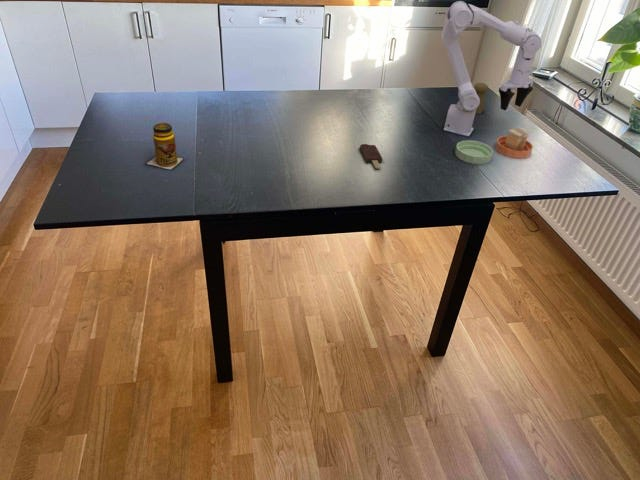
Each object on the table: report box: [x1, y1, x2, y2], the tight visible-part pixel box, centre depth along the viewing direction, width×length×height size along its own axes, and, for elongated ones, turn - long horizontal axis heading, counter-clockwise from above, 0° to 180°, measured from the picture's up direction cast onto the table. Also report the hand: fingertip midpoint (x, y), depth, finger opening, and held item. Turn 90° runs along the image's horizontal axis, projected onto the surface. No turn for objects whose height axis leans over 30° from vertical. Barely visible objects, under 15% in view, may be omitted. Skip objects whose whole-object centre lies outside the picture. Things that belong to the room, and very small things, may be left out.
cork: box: [473, 82, 489, 115], centre depth 199 cm, size 6×6×11 cm
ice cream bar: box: [359, 143, 383, 170], centre depth 164 cm, size 5×2×15 cm
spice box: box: [504, 127, 530, 151], centre depth 173 cm, size 5×5×7 cm
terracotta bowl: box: [494, 135, 534, 160], centre depth 174 cm, size 12×12×3 cm
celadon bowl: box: [454, 140, 494, 165], centre depth 169 cm, size 12×12×3 cm
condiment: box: [146, 122, 184, 170], centre depth 151 cm, size 7×8×12 cm
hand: (510, 107), depth 179 cm, fingers open, 7 cm apart
